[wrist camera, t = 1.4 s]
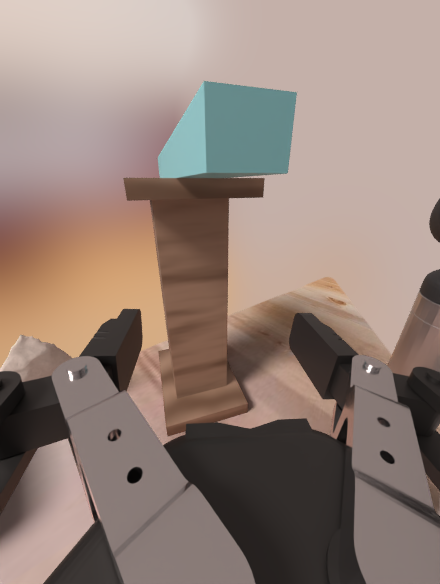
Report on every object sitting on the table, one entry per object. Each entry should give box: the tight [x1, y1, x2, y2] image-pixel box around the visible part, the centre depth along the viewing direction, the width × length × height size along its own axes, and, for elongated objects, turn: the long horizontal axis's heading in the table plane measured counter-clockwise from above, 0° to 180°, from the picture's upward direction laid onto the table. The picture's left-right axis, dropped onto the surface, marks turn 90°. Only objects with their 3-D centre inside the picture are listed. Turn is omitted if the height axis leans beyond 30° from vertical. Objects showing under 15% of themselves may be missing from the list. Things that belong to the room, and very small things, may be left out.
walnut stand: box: [124, 178, 264, 436], centre depth 33 cm, size 16×12×32 cm
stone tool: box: [0, 335, 73, 382], centre depth 30 cm, size 9×3×15 cm, turn 141°
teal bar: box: [158, 81, 297, 178], centre depth 22 cm, size 28×4×3 cm, turn 17°
